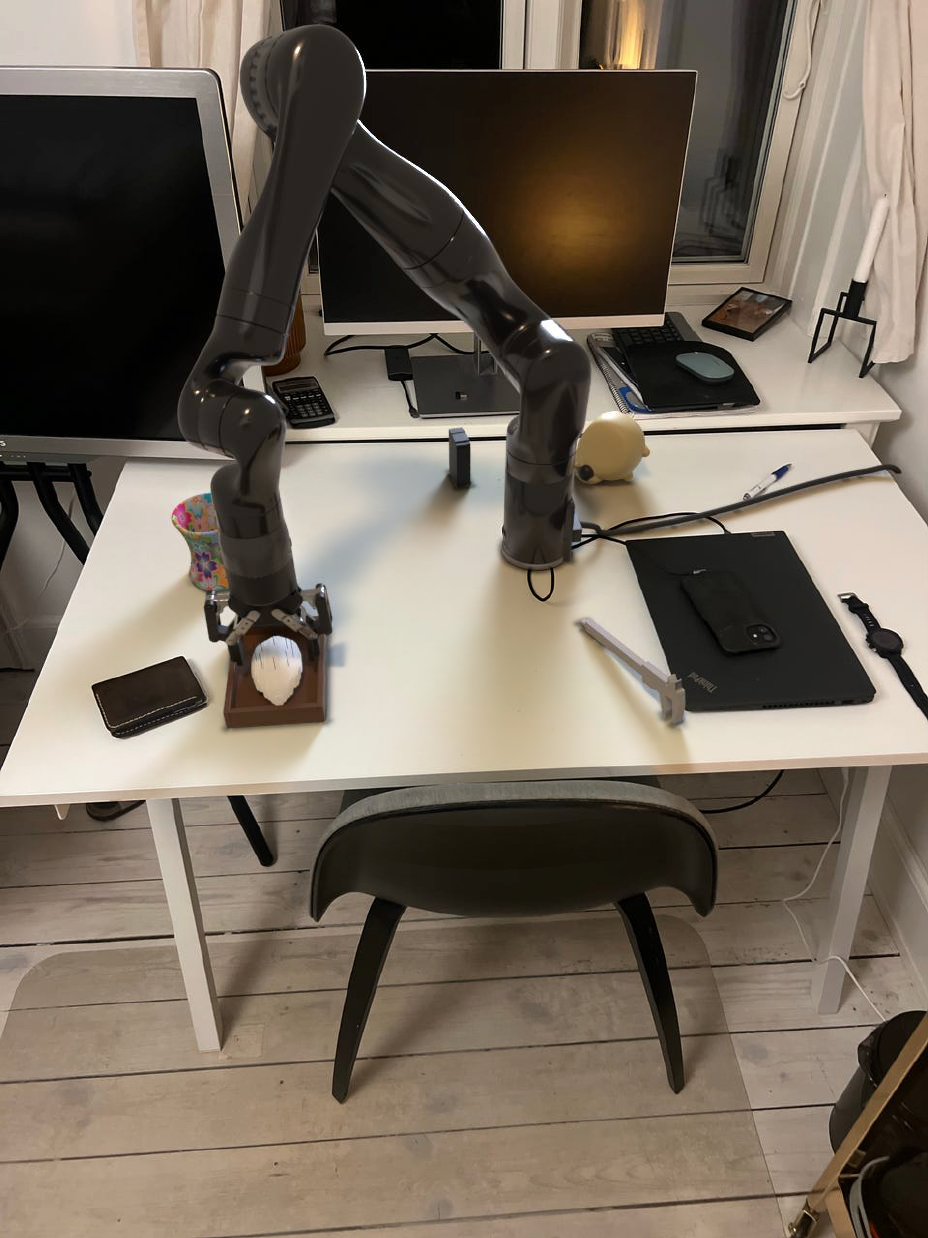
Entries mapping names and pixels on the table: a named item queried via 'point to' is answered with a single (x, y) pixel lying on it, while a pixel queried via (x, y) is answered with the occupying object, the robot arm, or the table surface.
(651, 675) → the caliper
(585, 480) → the toy pig
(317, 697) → the tray
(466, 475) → the ink cartridge
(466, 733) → the table surface
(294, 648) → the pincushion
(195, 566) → the mug
